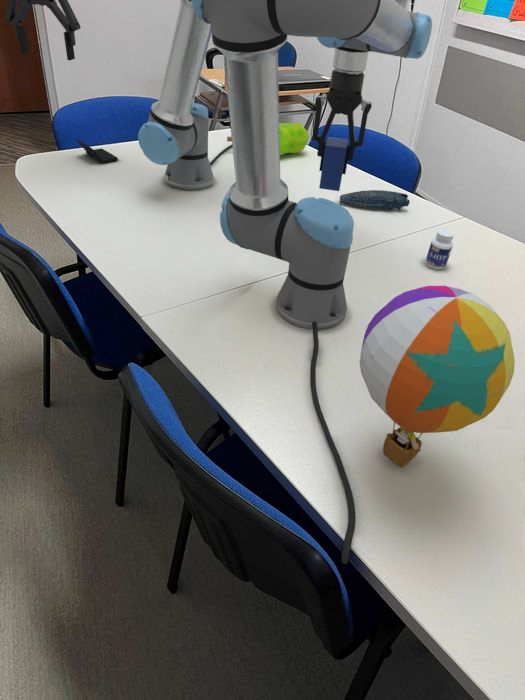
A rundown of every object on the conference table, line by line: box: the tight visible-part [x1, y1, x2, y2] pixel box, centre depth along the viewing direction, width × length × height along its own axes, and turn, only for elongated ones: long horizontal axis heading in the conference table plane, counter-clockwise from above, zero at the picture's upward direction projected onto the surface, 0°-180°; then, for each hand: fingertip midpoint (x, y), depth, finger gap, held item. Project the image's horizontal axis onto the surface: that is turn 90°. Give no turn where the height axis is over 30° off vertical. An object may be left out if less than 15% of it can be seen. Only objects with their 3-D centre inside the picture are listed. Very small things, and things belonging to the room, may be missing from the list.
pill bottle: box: [424, 228, 455, 270], centre depth 130 cm, size 5×5×9 cm
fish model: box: [339, 189, 411, 211], centre depth 158 cm, size 7×21×5 cm, turn 84°
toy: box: [359, 285, 516, 468], centre depth 73 cm, size 20×20×30 cm
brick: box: [318, 136, 349, 192], centre depth 133 cm, size 5×7×11 cm
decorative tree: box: [226, 122, 309, 157], centre depth 188 cm, size 18×10×30 cm
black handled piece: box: [75, 138, 119, 164], centre depth 173 cm, size 12×7×10 cm
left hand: (48, 56), depth 143 cm, fingers open, 13 cm apart
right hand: (332, 170), depth 134 cm, fingers closed on brick, 5 cm apart
